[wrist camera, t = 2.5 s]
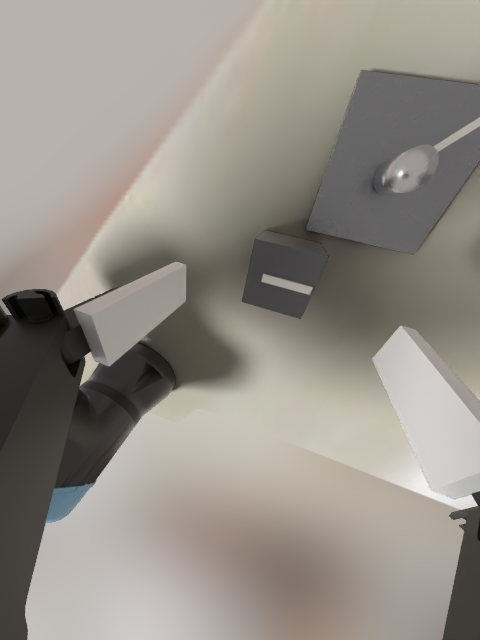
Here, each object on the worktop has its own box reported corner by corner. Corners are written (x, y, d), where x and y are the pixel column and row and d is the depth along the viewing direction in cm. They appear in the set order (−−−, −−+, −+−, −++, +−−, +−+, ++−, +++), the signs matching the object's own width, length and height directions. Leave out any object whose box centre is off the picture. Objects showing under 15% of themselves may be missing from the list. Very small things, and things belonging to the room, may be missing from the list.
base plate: (305, 228, 19) (307, 234, 15) (357, 78, 13) (380, 30, 10) (408, 252, 18) (437, 265, 14) (512, 98, 12) (606, 52, 8)
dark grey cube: (253, 281, 23) (241, 302, 18) (265, 230, 20) (254, 238, 15) (300, 294, 23) (300, 320, 18) (320, 243, 19) (329, 257, 14)
